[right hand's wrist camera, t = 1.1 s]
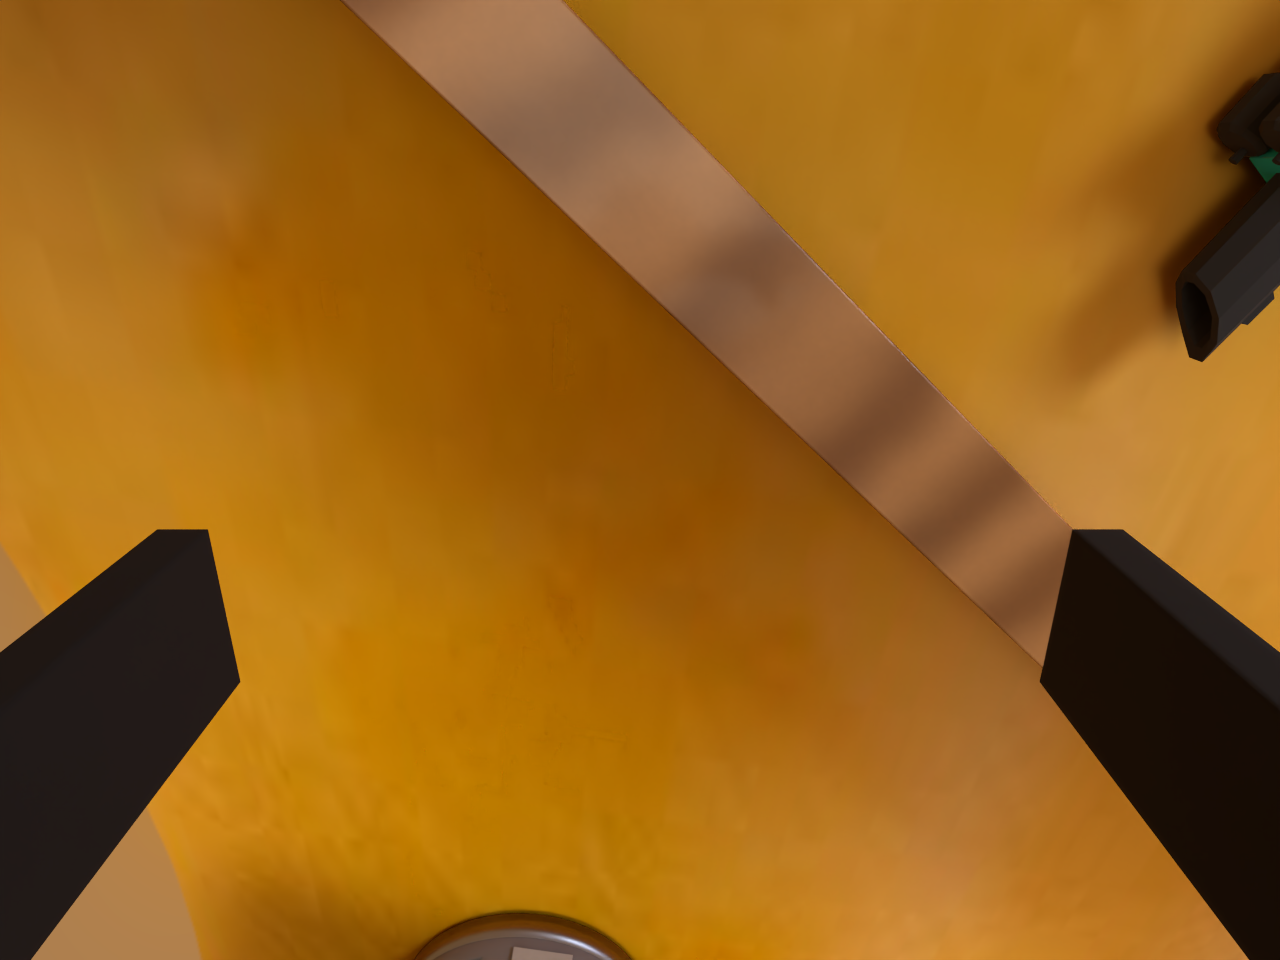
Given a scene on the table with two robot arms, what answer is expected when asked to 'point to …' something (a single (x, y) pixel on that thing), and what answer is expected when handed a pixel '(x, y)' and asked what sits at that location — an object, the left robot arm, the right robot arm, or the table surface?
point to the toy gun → (1238, 233)
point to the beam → (738, 287)
